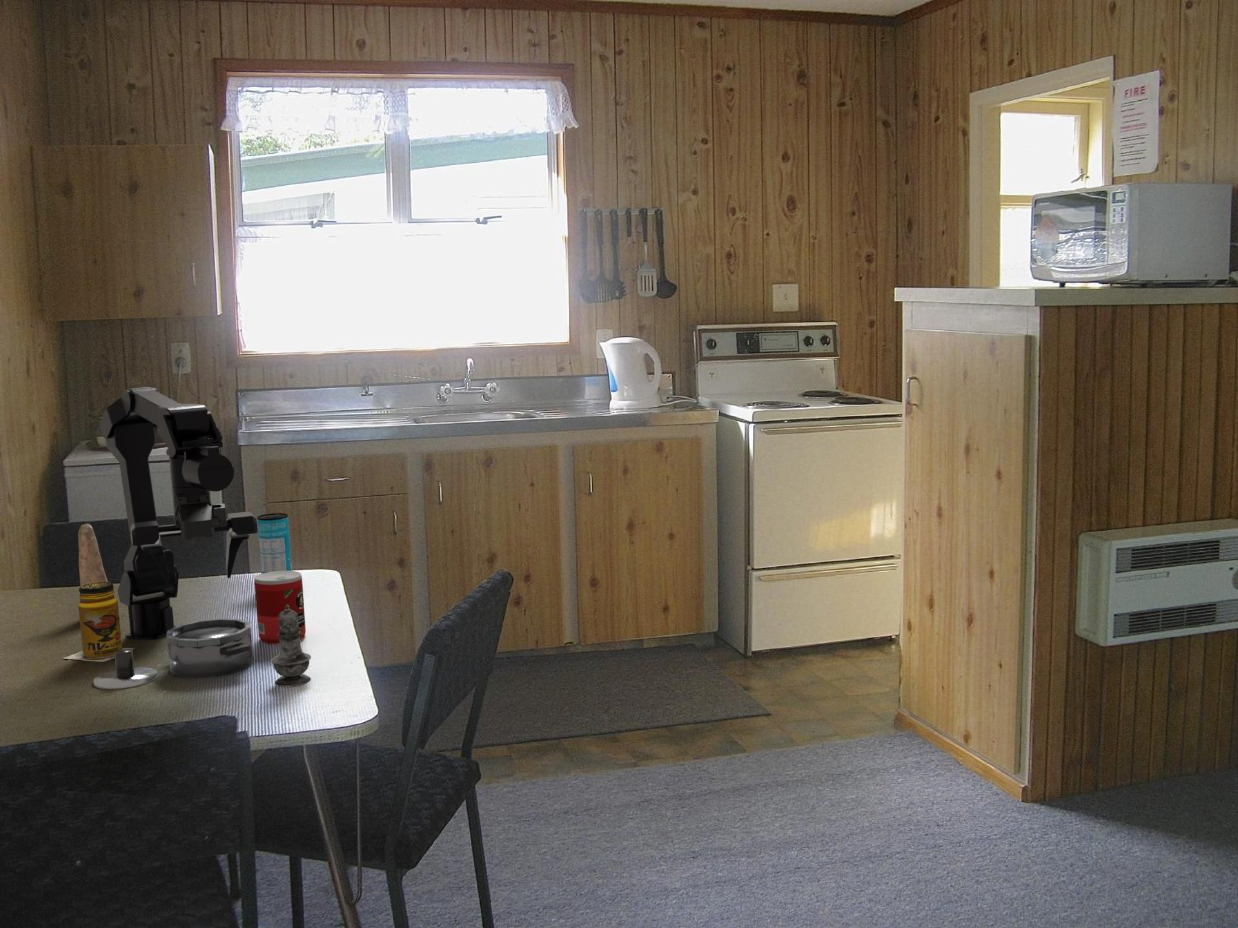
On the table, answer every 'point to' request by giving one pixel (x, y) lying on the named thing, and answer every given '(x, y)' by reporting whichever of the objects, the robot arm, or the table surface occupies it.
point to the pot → (209, 648)
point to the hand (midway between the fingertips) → (198, 581)
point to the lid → (125, 673)
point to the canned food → (278, 602)
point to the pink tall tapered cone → (89, 557)
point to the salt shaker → (290, 652)
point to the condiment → (98, 623)
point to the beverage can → (274, 542)
